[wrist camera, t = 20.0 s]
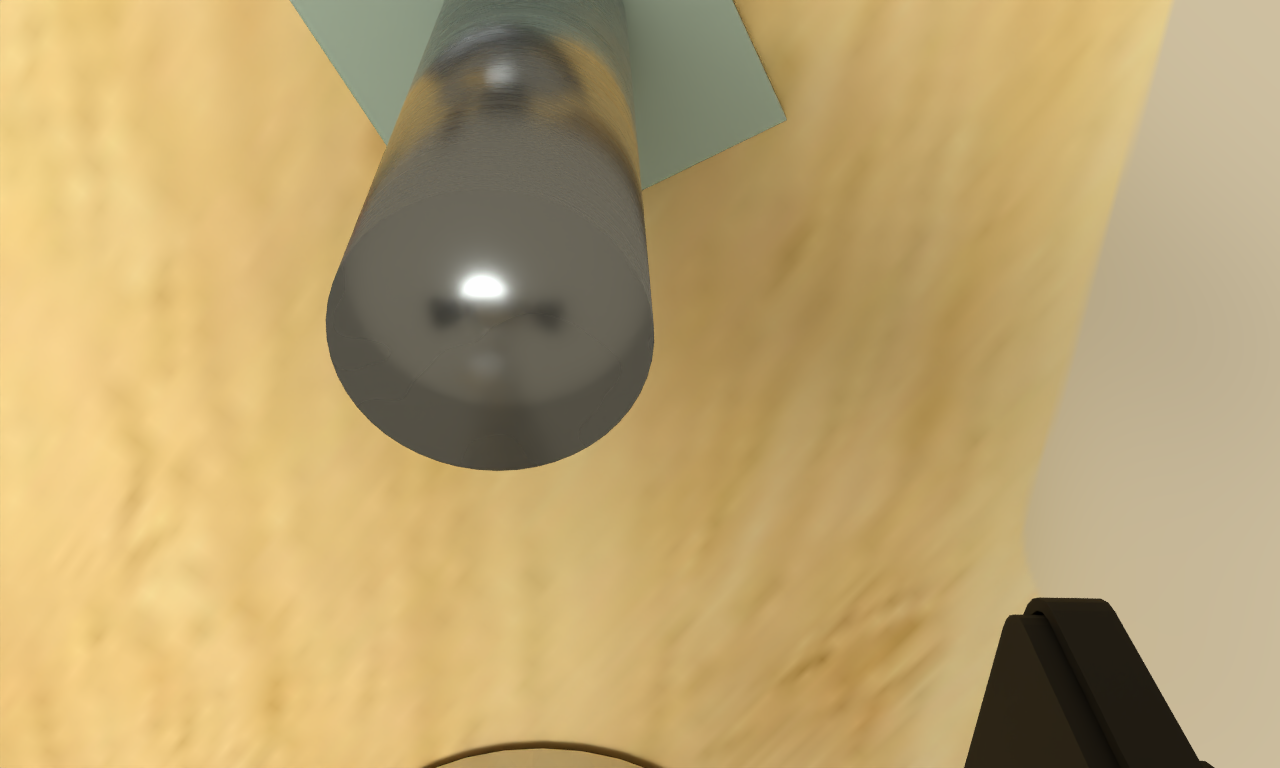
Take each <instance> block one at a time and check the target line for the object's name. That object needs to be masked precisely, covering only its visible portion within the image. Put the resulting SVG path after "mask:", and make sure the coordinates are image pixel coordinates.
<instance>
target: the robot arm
mask: <svg viewBox="0 0 1280 768" xmlns="http://www.w3.org/2000/svg"><path fill="white" fill-rule="evenodd" d="M436 768H644V767H641V766H638V765H635V764H632V763H630V762H627V761H624V760H621V759H618V758H613V757H608V756H603V755H599V754H594V753H589V752H584V751H574V750H560V749H547V748H539V749H520V750H503V751H498V752H493V753H487V754H482V755H477V756H471V757H466V758H463V759H460V760H457V761H454V762H451V763H448V764H445V765H442V766H439V767H436ZM964 768H1214V767H1213V766H1211V765H1210V764H1209V763H1207V762H1206V761H1199V759H1198V758H1197V756H1196V754H1195V752H1194V750H1193V749H1192V747H1191V745H1190V743H1189V742H1188V740H1187V738H1186V736H1185V735H1184V733H1183V731H1182V729H1181V727H1180V726H1179V724H1178V722H1177V720H1176V719H1175V717H1174V715H1173V713H1172V712H1171V710H1170V708H1169V706H1168V704H1167V703H1166V701H1165V699H1164V697H1163V696H1162V694H1161V692H1160V690H1159V689H1158V687H1157V685H1156V683H1155V682H1154V680H1153V678H1152V676H1151V675H1150V673H1149V671H1148V669H1147V668H1146V666H1145V664H1144V662H1143V661H1142V659H1141V657H1140V655H1139V653H1138V652H1137V650H1136V648H1135V646H1134V645H1133V643H1132V641H1131V639H1130V638H1129V636H1128V634H1127V632H1126V630H1125V629H1124V627H1123V625H1122V624H1121V622H1120V620H1119V618H1118V616H1117V614H1116V613H1115V611H1114V610H1113V608H1112V607H1111V606H1110V604H1109V603H1108V602H1106V601H1104V600H1102V599H1088V598H1087V599H1086V598H1085V599H1084V598H1034V599H1032V600H1031V601H1030V602H1029V603H1028V605H1027V607H1026V609H1025V612H1024V614H1023V615H1010V616H1009V617H1008V618H1007V619H1006V621H1005V624H1004V626H1003V630H1002V633H1001V637H1000V641H999V644H998V648H997V651H996V655H995V659H994V662H993V666H992V669H991V673H990V677H989V680H988V684H987V687H986V691H985V695H984V698H983V702H982V705H981V709H980V713H979V716H978V720H977V723H976V727H975V731H974V734H973V738H972V741H971V745H970V749H969V752H968V756H967V759H966V763H965V767H964Z"/></svg>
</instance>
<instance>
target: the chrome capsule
mask: <svg viewBox="0 0 1280 768" xmlns="http://www.w3.org/2000/svg"><path fill="white" fill-rule="evenodd" d="M326 333H327V342H328V347H329V352H330V357H331V360H332V362H333V365H334V368H335V371H336V373H337V376H338V378H339V379H340V381H341V383H342V385H343V387H344V389H345V391H346V392H347V394H348V395H349V396H350V398H351V399H352V401H353V402H354V403H355V405H356V406H357V407H358V409H359V410H360V411H361V412H362V413H363V414H364V415H365V416H366V417H367V418H368V419H369V420H370V421H371V422H372V423H373V424H374V425H375V426H377V427H378V428H379V429H380V430H381V431H382V432H384V433H385V434H386V435H388V436H389V437H391V438H392V439H394V440H395V441H397V442H398V443H400V444H401V445H403V446H405V447H407V448H409V449H411V450H413V451H415V452H417V453H419V454H421V455H423V456H426V457H429V458H431V459H434V460H436V461H439V462H443V463H447V464H450V465H454V466H458V467H464V468H470V469H477V470H493V471H502V470H519V469H525V468H532V467H537V466H541V465H545V464H549V463H552V462H556V461H558V460H561V459H563V458H566V457H569V456H571V455H573V454H575V453H577V452H579V451H581V450H583V449H585V448H587V447H588V446H590V445H592V444H593V443H594V442H596V441H597V440H599V439H600V438H602V437H603V436H604V435H606V434H607V433H608V432H609V431H610V430H611V429H612V428H613V427H614V426H616V425H617V424H618V423H619V422H620V420H621V419H622V418H623V417H624V416H625V415H626V413H627V412H628V411H629V410H630V409H631V407H632V405H633V404H634V402H635V401H636V399H637V397H638V396H639V394H640V392H641V390H642V388H643V385H644V383H645V381H646V379H647V376H648V372H649V369H650V365H651V362H652V355H653V347H654V325H653V313H652V302H651V290H650V279H649V268H648V256H647V245H646V234H645V223H644V211H643V200H642V189H641V177H640V166H639V155H638V144H637V132H636V121H635V110H634V98H633V87H632V76H631V65H630V53H629V42H628V31H627V19H626V13H625V7H624V3H623V0H444V3H443V5H442V8H441V10H440V13H439V15H438V18H437V20H436V23H435V26H434V28H433V31H432V33H431V36H430V38H429V41H428V43H427V46H426V48H425V51H424V53H423V56H422V58H421V61H420V63H419V66H418V69H417V71H416V74H415V76H414V79H413V81H412V84H411V86H410V89H409V91H408V94H407V96H406V99H405V101H404V104H403V106H402V109H401V112H400V114H399V117H398V119H397V122H396V124H395V127H394V129H393V132H392V134H391V137H390V139H389V142H388V144H387V147H386V149H385V152H384V155H383V157H382V160H381V162H380V165H379V167H378V170H377V172H376V175H375V177H374V180H373V182H372V185H371V187H370V190H369V193H368V195H367V198H366V200H365V203H364V205H363V208H362V210H361V213H360V215H359V218H358V220H357V223H356V225H355V228H354V230H353V233H352V236H351V238H350V241H349V243H348V246H347V248H346V251H345V253H344V256H343V258H342V261H341V263H340V266H339V268H338V271H337V273H336V276H335V279H334V281H333V284H332V287H331V291H330V295H329V299H328V304H327V314H326Z"/></svg>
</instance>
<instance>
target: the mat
mask: <svg viewBox="0 0 1280 768" xmlns="http://www.w3.org/2000/svg"><path fill="white" fill-rule="evenodd" d="M290 1H291V3H292V4H293V6H294V7H295V9H296V10H297V12H298V13H299V15H300V16H301V18H302V19H303V21H304V22H305V24H306V25H307V27H308V28H309V30H310V31H311V33H312V34H313V36H314V37H315V39H316V40H317V42H318V43H319V45H320V46H321V48H322V49H323V51H324V52H325V54H326V55H327V57H328V58H329V60H330V61H331V63H332V64H333V66H334V67H335V69H336V70H337V72H338V73H339V75H340V76H341V78H342V79H343V81H344V82H345V84H346V85H347V87H348V88H349V90H350V91H351V93H352V94H353V96H354V97H355V99H356V100H357V102H358V103H359V105H360V106H361V108H362V109H363V111H364V112H365V114H366V115H367V117H368V118H369V120H370V121H371V123H372V124H373V126H374V127H375V129H376V130H377V132H378V133H379V135H380V136H381V138H382V139H383V141H384V142H385V144H386V145H387V144H388V142H389V139H390V137H391V134H392V132H393V129H394V127H395V124H396V122H397V119H398V117H399V114H400V112H401V109H402V106H403V104H404V101H405V99H406V96H407V94H408V91H409V89H410V86H411V84H412V81H413V79H414V76H415V74H416V71H417V69H418V66H419V63H420V61H421V58H422V56H423V53H424V51H425V48H426V46H427V43H428V41H429V38H430V36H431V33H432V31H433V28H434V26H435V23H436V20H437V18H438V15H439V13H440V10H441V8H442V5H443V3H444V0H290ZM623 3H624V7H625V13H626V19H627V31H628V42H629V53H630V65H631V76H632V87H633V98H634V110H635V121H636V132H637V144H638V155H639V166H640V177H641V189H642V190H644V189H646V188H648V187H650V186H652V185H654V184H656V183H658V182H660V181H662V180H664V179H667V178H669V177H671V176H673V175H675V174H677V173H679V172H681V171H683V170H685V169H687V168H689V167H691V166H693V165H695V164H697V163H699V162H701V161H704V160H706V159H708V158H710V157H712V156H714V155H716V154H718V153H720V152H722V151H724V150H726V149H728V148H730V147H732V146H734V145H736V144H739V143H741V142H743V141H745V140H747V139H749V138H751V137H753V136H755V135H757V134H759V133H761V132H763V131H765V130H767V129H769V128H771V127H774V126H776V125H778V124H780V123H782V122H784V121H786V120H787V119H786V116H785V114H784V111H783V109H782V107H781V104H780V102H779V100H778V98H777V96H776V94H775V91H774V89H773V87H772V85H771V83H770V80H769V78H768V76H767V74H766V72H765V70H764V67H763V65H762V63H761V61H760V59H759V56H758V54H757V52H756V50H755V48H754V46H753V43H752V41H751V39H750V37H749V35H748V32H747V30H746V28H745V26H744V24H743V22H742V19H741V17H740V15H739V13H738V11H737V8H736V6H735V4H734V2H733V0H623Z"/></svg>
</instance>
